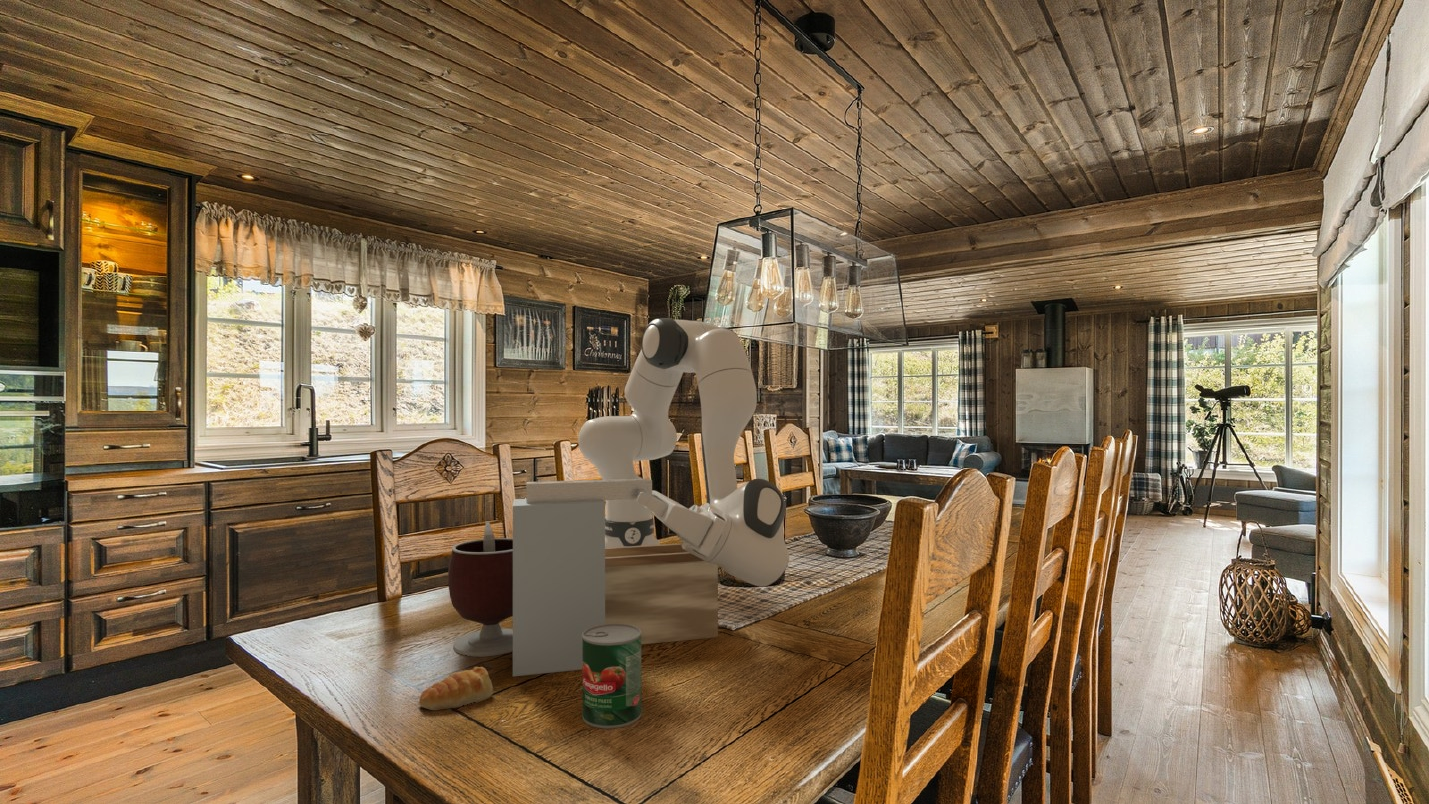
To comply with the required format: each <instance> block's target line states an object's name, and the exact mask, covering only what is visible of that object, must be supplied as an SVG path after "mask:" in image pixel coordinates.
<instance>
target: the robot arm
mask: <svg viewBox="0 0 1429 804" xmlns="http://www.w3.org/2000/svg"><path fill="white" fill-rule="evenodd" d="M641 338H642V339H641V350H640V351H639V353H638V356H637V357H636V360H635V363H634V365H633V366H632V369H631V371H630V372H631V373H630V374H629V376H628V380H627V382H626V385H625V387H624V396H625V397H624V398H625V400H626V402H627V404H628V405H629V407H630V408H632V409H634V410H633V412H632V413H631V414H630V415H609V416H607V415H605V416H600V417H596V418H593V419H589V420H587V421H585V422H584V423H583V424H582V426H581V428H580V430H579V433H578V436H577V437H578V438H577V442H578V443H577V444H578V447H579V450H580V452H581V454H582V456H583V457H585V459H586V460H588V462H590V463H591V464H593V466H594V467H595V469H596V470H597V471H598V473H599V475H600V477H601V480H614V479H644V478H643V477H641V476H639V475H638V474H637V473H636V470H635V466H634V462H641V461H653V460H658V459H661V458H664V457H667V456H669V455H671V454H672V453H673V451H674V450H675V448H676V445H677V439H678V435H677V429H676V427H675V426H674V424H673V422H672V421H671V420H670V418H669V409H670V407H671V404H672V400H673V398H674V395H675V393H676V391H677V389H678V386H679V384H680V382H681V379H682V376H683V375H684V373H687V374H691V373H693V374H694V373H695V376H696V383H697V387H698V392H699V398H700V410H701V433H700V434H701V436H700V437H701V456H702V463H703V464H702V465H703V466H702V467H703V473H704V474H703V475H704V483H705V491H706V492H705V493H706V495H705V496H706V502H705V503H703V504H702V505H700V506H699V505H697V504H693V505H691V506H690V507H689V508H688V507H686V506H684V505H682V504H680V503H679V502H678V501H675V500H674V499H672V498H669V497H668V496H666V495H664V494H663V493H660V492H659V491H657V490H653V489H652V496H650V495H648V494H646V493H644V492H642V491H641V492H639V494H638V496H637V497H636V499H624V500H605V548H611V547H629V546H646V545H661V542H660V541H659V540H658V539H657V538H656V537H655V535H654V532H655V521H654V519H655V518H653V515H654V517H656V518H657V519H658V520H659V521H660V522H662V524H664V525H665V526H666V527H667V528H668V529H669V530H671V531H672V532H674V533H675V534H676V538H677V539H679V540H681V543H682V548H683V549H684V550H685V551H687V552H689V553H691V554H693V555H695V556H697V557H699V558H701V559H702V560H704V561H706V562H708V563H713V564H716V565H718V567H720V568H721V569H722V571H724V572H725V573H727V574H728V575H730V576H732V577H735V578H736V579H738V580H741V581H743V582H746V583H748V584H749V585H750V584H751V585H754V586H756V587H760V588H764V587H768V586H769V585H772V584H774V583H776V582H777V581H778V580H779V579H780V577H781V576H783V574H784V573H785V571H786V569H787V568H788V565H789V563H790V558H791V557H790V556H791V555H790V552H789V550H788V548H787V545H786V542H785V538H784V518H785V517H786V516H785V515H786V513H787V505H786V501H785V497H784V495H783V493H782V491H781V490H780V489H779V488H778V487H777V486H776V485H775V484H774V483H772V481H771V482H770V481H768V480H767V479H764V478H753V479H751V480H749V481H747V482H746V483H744V484H742V485H740V486H739V487H738V482H737V481H738V480H737V472H736V463H735V452H736V448H737V444H738V442H739V439H740V437H741V435H742V434H743V432H744V430H745V428H746V427H747V425H748V423H749V422H750V420H751V419H752V418H753V416H754V413H755V411H756V408H757V405H758V404H757V403H758V401H757V400H758V399H757V397H758V396H757V386H756V382H755V378H754V375H753V371H752V367H751V363H750V360H749V357H748V356H747V355H748V354H747V353H746V351H745V348H744V346H743V344H742V342H741V340H740V337H739V336H738V334H737V333H736V332H735V331H734V330H732V329H730V328H728V327H725V326H723V325H716V324H712V323H708V322H704V321H700V320H687V319H674V318H670V317H661V318H655V319H653V320H652V321H650V322H649V323H648V325H646V327H645V329H644V331H643V334H642V337H641Z"/></svg>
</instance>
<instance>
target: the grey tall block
mask: <svg viewBox="0 0 1429 804" xmlns="http://www.w3.org/2000/svg"><path fill="white" fill-rule="evenodd" d="M605 519H606V501H605V500H598V501H572V502H546V503H526V498H514V499H513V503H512V539H513V616H512V629H513V651H512V677H523V676H532V675H542V674H551V673H561V672H569V671H570V672H571V671H578V670H579V671H580V670H583V669H582V665H583V664H582V633H583V632H584V631H585V630H586V629H588V628H590V627H593V626H597V625H602V624H605Z"/></svg>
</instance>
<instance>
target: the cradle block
mask: <svg viewBox="0 0 1429 804" xmlns="http://www.w3.org/2000/svg"><path fill="white" fill-rule="evenodd" d="M612 623H620V624H629V625H633V626H636V627H638V628H639V629H640V630H641V633H642V634H641V645H650V644H659V643H661V644H663V643H671V642H672V643H673V642H679V641H682V642H683V641H690V640H701V639H702V640H703V639H711V638H719V566H718V565H716V564H713V563H708V562H706V561H704V560H702V559H701V558H699V557H697V556H695V555H693V554H691V553H689V552H687V551H685V550H684V549H683V548H682V542H681V543H669V544H667V543H666V544H660V545H646V546H629V547H611V548H605V624H612Z"/></svg>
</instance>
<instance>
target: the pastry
mask: <svg viewBox="0 0 1429 804" xmlns="http://www.w3.org/2000/svg"><path fill="white" fill-rule="evenodd" d="M493 694H494V686H493V684H492V680H491V679H490V675H489V671H487V669H486V668H485V667H483V666H480V667H479V666H474V668H472V669H469V670H468V669H467V670H461V671H458V672H452V673H451V674H449V675H447V676H446V677H445V678H443V679H442V680H440V681H438V682H435V683H433V684H432V685H431V686H429V687H428V688H426V689H424V690H423V691H422V692H421V693H420V697H419V703H418V705H419V707H421V708H424V709H426V710H430V711H439V710H447V709H456V708H461V707H464V706H467V704H468V705H471V704H470V703H472V704H474V703H473V702H476V703H479V702H482V701H486V700H487V699H489V698H491V696H492V695H493ZM463 705H464V706H463Z"/></svg>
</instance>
